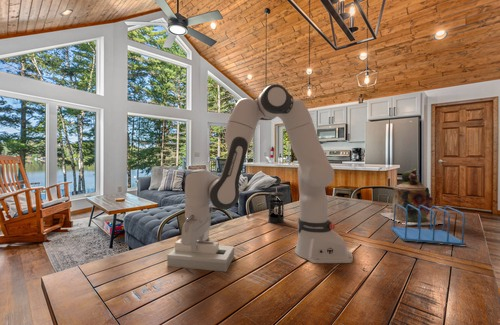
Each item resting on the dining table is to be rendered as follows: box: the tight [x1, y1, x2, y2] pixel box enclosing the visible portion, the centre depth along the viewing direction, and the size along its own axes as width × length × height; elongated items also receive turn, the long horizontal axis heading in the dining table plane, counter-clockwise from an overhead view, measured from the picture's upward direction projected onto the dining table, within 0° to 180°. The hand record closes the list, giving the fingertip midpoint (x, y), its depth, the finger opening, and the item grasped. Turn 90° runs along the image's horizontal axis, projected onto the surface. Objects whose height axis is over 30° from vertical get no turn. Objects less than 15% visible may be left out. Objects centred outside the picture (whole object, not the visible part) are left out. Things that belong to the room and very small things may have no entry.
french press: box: [268, 182, 285, 225], centre depth 145 cm, size 12×9×23 cm
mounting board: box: [166, 244, 235, 272], centre depth 92 cm, size 22×12×4 cm, turn 80°
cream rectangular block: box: [174, 238, 220, 254], centre depth 92 cm, size 16×4×6 cm, turn 80°
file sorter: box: [390, 204, 467, 246], centre depth 119 cm, size 25×17×15 cm
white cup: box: [203, 228, 210, 241], centre depth 116 cm, size 8×8×10 cm
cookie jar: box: [380, 168, 443, 226], centre depth 149 cm, size 25×25×32 cm
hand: (197, 248), depth 92 cm, fingers open, 4 cm apart
